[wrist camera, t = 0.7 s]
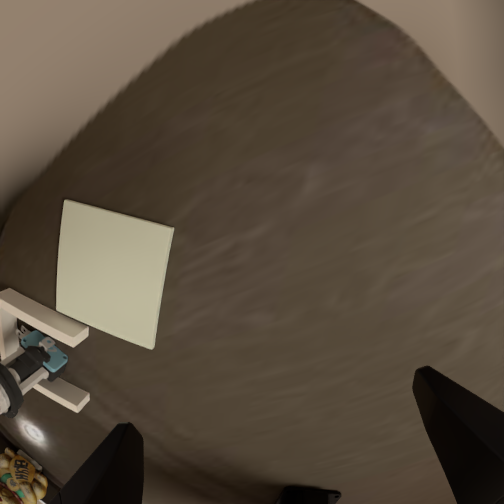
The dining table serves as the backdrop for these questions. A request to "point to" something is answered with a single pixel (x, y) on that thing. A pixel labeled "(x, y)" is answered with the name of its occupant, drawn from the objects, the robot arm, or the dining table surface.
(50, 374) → the push button
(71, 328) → the white u-shaped bracket
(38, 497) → the decorative figurine
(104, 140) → the dining table surface
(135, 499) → the robot arm
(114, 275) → the mat
